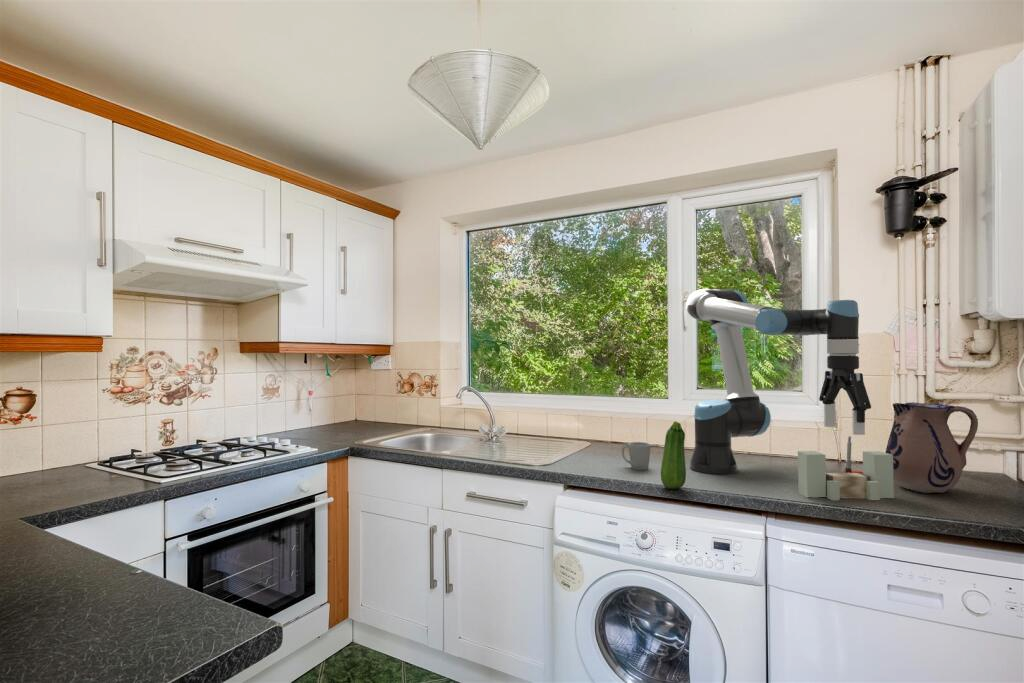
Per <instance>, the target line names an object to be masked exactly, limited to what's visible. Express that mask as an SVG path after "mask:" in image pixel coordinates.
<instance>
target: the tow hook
mask: <svg viewBox="0 0 1024 683" xmlns="http://www.w3.org/2000/svg"><path fill="white" fill-rule="evenodd" d="M843 473H862V474H863V471H859V470H852V437H851V436H850V435H848V436H847V444H846V459H845V466H844V470H843Z"/></svg>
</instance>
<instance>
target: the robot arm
mask: <svg viewBox="0 0 1024 683" xmlns="http://www.w3.org/2000/svg"><path fill="white" fill-rule="evenodd" d="M685 308H686V310H687V313H688V314H689V315H690V317H691V318H693V319H694V320H695V319H696V320H699V321H705V322H709V324H710V328H711V329H712V330H714V331H715V333H716V338H717V343H718V350H719V355H720V360H721V366H722V371H723V376H724V383H725V389H726V392H727V393H726V394H727V395H726V397H725V398H724V399H711V400H710V399H708V400H704V401H701V402H698V403H696V405H695V407H694V414H693V418H694V448H693V450H692V454H691V457H690V460H689V468H690V469H691V470H693V471H696V472H700V473H703V474H704V473H705V474H712V475H713V474H714V475H729V474H734V473H735V474H736V472H738V463H737V461H736V457H735V455H734V453H733V448H732V438H744V437H748V438H750V437H755V436H759V435H763V434H764V433H765V432H766V431H768V430H767V429H768V428H769V427H770V425H771V418H772V417H771V416H772V415H771V412H770V408H769V407H767V406H766V404H765V403H764V402H761V400H760V396H759V395H758V394H757V393H755V392H754V389H753V388H754V387H753V384H752V378H751V373H750V368H749V367H750V366H749V362H748V358H747V351H746V347H745V341H744V336H743V332H742V327H744V328H747V329H751V330H757V331H758V332H759V333H760V334H762V335H768V336H777V335H778V336H781V335H782V336H783V335H785V336H786V335H788V336H791V335H792V336H793V335H794V336H795V335H796V336H811V335H812V336H813V335H826V350H827V351H826V353H827V354H828V356H827V357H826V361H827V362H826V363H827V364H826V366H827V368H828V369H830V370H826V371H825V372H824V379H823V384H822V387H821V391H820V394H819V398H818V400H819V401H820V402H822V404H823V406H824V407H823V408H824V410H823V411H824V412H823V413H824V414H823V415H824V416H823V417H824V427H826V428H827V427H831V428H833V427H834V428H835V427H836V402H835V400H836V398H837V396H838V394H839V393H840V390H841V389H842V390H844V391H845V392H846V394H847V396H848V398H849V401H850V402H851V404H852V406H853V408H852V409H851V410H852V411H851V412H852V414H851V415H852V435H855V436H857V435H858V436H864V435H866V432H865V430H866V426H865V425H866V411H867V410H869V409H872V404H871V402H870V398H869V394H868V392H867V389H866V386H865V383H864V374H863V373H861V372H855V370H858V369H859V368H860V357H859V356H858V355H857V354H859V353H860V351H859V350H860V343H859V323H860V322H859V319H860V314H859V304H858V302H857V300H853V299H838V300H837V299H836V300H830V301H829V300H828V302H827V303H826V307H825V308H823V309H821V308H820V309H791V308H790V309H786V308H777V307H776V308H775V307H769V306H765V305H759V304H754V303H749V301H748V298H747V297H746V296H745V294H744V293H742V292H741V291H738V290H735V289H730V288H728V289H727V288H726V289H719V288H717V289H712V288H711V289H709V288H701V289H698V290H695V291H693V292H692V293H691V294H690V295H689V296H688V298H687V301H686V307H685Z"/></svg>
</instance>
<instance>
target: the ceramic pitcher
mask: <svg viewBox="0 0 1024 683" xmlns="http://www.w3.org/2000/svg"><path fill="white" fill-rule="evenodd" d="M892 407H893V411H894V414H893V415H894V417H893V423H892V427H891V431H890V434H889V437H888V440H887V445H886V448H885V452H884V453H888V454H891V455H893V481H894V482H895V483H896V484H898V485H899V487H900V486H901V487H902V488H905V489H907V490H909V489H910V491H913V490H914V492H919V493H925V494H926V493H927V494H931V493H936V494H937V493H940V494H941V493H943V494H944V493H946V492H947V491H949V490H950V489H953V487H955V486H956V485H957V484H958V482H959V481H960V479H961V477H962V472H963V470H964V469H965V467H966V465H967V464H968V463H967V455H966V454H967V451H968V450H969V448H970V446H971V444H972V442H973V441H974V439H975V436H976V434H977V432H978V427H979V421H978V420H979V419H978V417H977V415H976V413H975V412H974V411H973V410H972V409H970V408H968V407H966V406H959V405H956V406H954V405H949V404H943V403H941V404H940V403H927V402H926V403H923V402H914V401H912V402H911V401H910V402H905V403H900V402H898V403H897V402H895V403H892ZM955 412H957V413H958V412H960V413H962V414H965V415H966V416H967V417H968V418H969V420H970V426H969V431H968V432H967V435H966V436H965V438H964V440H963V441H961V443H958V442H957V441H956V440H955V438H954V436H953V433H952V430H950V427H949V424H948V421H949V417H950V416H951V415H952V414H953V413H955Z"/></svg>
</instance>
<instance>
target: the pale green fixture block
mask: <svg viewBox="0 0 1024 683" xmlns="http://www.w3.org/2000/svg"><path fill="white" fill-rule="evenodd" d="M862 472H863V474H865V475H867V476H870V481H866V492H867V498H866V500H867V499H869V500H868V501H870V500H881V499H880V498H894V496H895V495H894V491H895V490H894V488H895V487H894V480H893V455H891V454H888V453H885V452H884V451H875V450H873V451H872V450H871V451H869V450H868V451H867V450H866V451H865V450H863V451H862ZM894 499H895V498H894Z"/></svg>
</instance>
